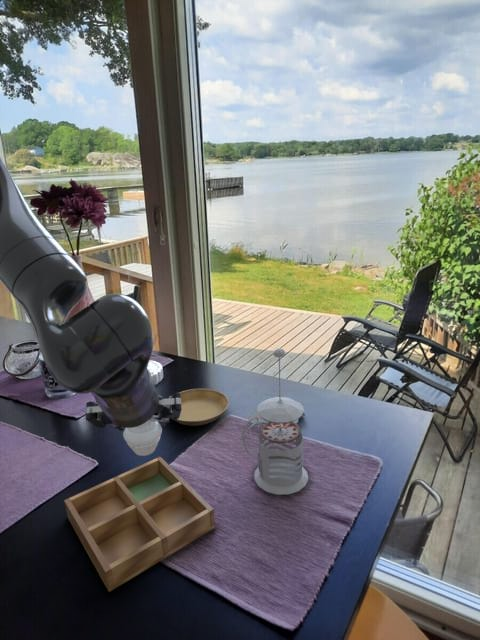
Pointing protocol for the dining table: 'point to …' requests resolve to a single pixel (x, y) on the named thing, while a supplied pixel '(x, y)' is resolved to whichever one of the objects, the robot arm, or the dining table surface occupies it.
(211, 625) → the dining table surface
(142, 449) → the muffin
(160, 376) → the mooncake
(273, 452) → the french press
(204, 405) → the plant saucer
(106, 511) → the grid
